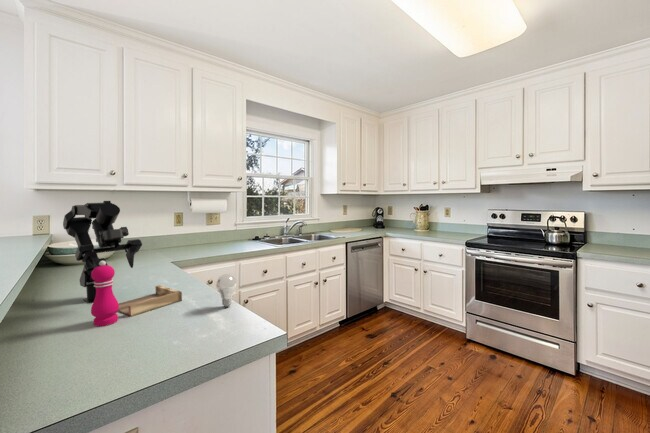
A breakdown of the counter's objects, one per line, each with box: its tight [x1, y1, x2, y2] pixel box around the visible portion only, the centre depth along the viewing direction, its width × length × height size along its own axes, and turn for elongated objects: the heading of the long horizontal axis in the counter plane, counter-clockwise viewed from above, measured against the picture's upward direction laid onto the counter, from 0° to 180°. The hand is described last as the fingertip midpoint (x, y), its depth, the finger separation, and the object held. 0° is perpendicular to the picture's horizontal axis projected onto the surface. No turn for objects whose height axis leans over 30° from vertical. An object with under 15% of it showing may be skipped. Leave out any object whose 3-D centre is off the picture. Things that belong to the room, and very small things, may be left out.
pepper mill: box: [90, 261, 119, 327], centre depth 96 cm, size 7×7×20 cm
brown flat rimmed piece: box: [117, 284, 183, 318], centre depth 113 cm, size 16×18×4 cm
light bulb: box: [215, 273, 237, 308], centre depth 109 cm, size 7×7×12 cm
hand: (117, 270), depth 104 cm, fingers open, 9 cm apart
